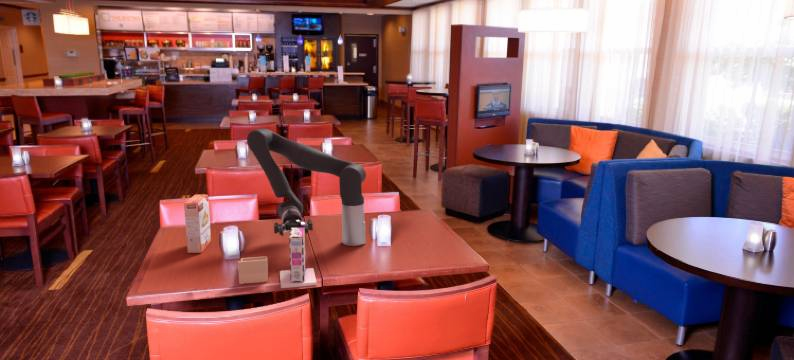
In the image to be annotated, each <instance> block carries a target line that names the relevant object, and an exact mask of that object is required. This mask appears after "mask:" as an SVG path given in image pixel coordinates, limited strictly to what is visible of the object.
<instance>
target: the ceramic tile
mask: <svg viewBox="0 0 794 360" xmlns="http://www.w3.org/2000/svg"><path fill="white" fill-rule="evenodd" d="M279 276H280V277H279V279H280V289H289V288H297V287H299V288H301V287H311V286H317V285H318V283H317V278H316V275H315V270H314V268H313V267H311V268H310V267H308V268H306V270H305V280H304V282H291V276H290V269H285V270H279Z"/></svg>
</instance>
